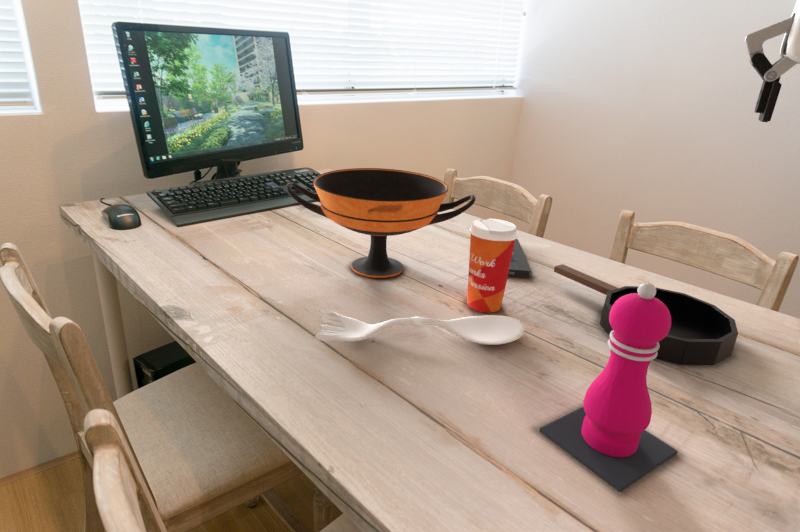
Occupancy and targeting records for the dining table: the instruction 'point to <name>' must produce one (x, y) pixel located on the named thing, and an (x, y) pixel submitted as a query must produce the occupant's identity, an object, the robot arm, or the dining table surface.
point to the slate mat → (607, 467)
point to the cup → (380, 208)
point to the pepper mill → (626, 374)
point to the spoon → (468, 328)
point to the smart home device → (519, 263)
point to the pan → (674, 322)
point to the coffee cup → (489, 263)
